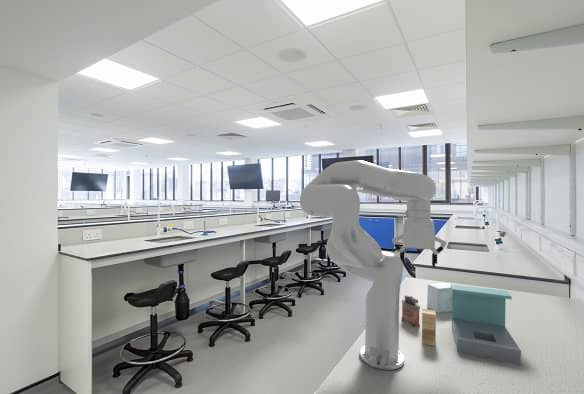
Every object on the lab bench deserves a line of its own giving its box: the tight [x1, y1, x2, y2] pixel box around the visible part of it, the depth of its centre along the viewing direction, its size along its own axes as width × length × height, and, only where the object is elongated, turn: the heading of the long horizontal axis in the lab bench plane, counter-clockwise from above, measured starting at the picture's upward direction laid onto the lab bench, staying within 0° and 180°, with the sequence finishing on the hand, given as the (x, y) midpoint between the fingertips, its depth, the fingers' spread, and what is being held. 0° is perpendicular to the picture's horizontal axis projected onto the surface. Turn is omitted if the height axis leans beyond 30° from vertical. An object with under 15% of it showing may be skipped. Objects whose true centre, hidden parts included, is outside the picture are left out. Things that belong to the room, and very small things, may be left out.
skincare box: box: [426, 282, 453, 314], centre depth 124 cm, size 10×6×10 cm, turn 107°
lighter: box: [401, 294, 421, 328], centre depth 110 cm, size 8×3×10 cm, turn 21°
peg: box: [421, 308, 437, 347], centre depth 96 cm, size 4×4×10 cm
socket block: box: [451, 284, 522, 365], centre depth 95 cm, size 18×17×16 cm
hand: (418, 264), depth 99 cm, fingers open, 9 cm apart
